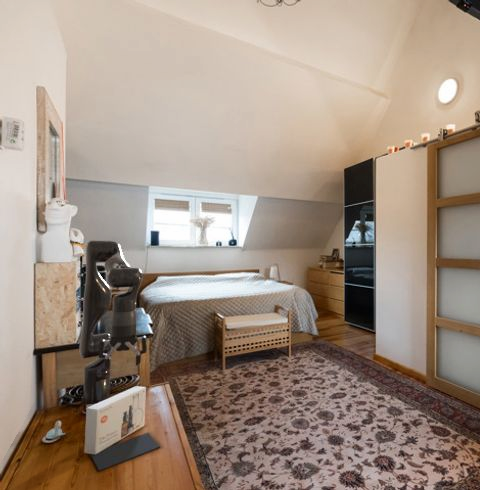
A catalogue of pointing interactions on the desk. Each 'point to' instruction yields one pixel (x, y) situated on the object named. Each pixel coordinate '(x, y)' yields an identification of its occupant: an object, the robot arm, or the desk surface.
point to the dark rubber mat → (124, 451)
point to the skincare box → (114, 419)
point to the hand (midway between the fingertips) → (123, 366)
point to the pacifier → (54, 433)
